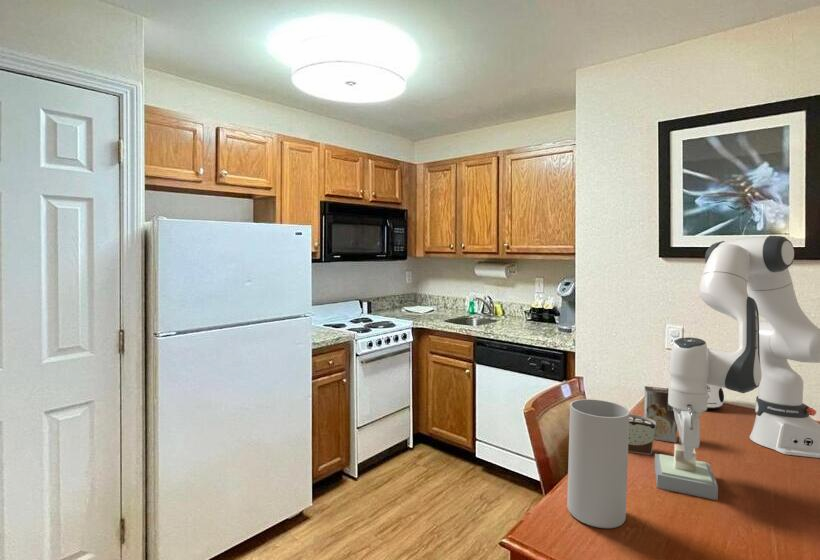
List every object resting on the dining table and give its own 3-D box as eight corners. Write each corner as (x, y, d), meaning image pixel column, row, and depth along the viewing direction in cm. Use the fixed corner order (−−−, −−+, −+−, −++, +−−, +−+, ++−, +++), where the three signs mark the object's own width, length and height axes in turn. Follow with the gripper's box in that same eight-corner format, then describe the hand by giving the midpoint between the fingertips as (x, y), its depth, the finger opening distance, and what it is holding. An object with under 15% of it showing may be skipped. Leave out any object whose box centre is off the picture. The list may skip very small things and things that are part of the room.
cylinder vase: (596, 535, 95) (600, 420, 94) (555, 505, 107) (558, 402, 105) (638, 522, 100) (642, 413, 99) (594, 495, 112) (598, 396, 110)
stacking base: (708, 475, 122) (709, 461, 122) (717, 500, 110) (718, 484, 109) (654, 465, 128) (655, 451, 128) (657, 487, 115) (657, 472, 115)
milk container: (683, 410, 175) (685, 365, 174) (666, 397, 192) (667, 355, 191) (732, 413, 172) (734, 367, 171) (710, 399, 189) (712, 357, 188)
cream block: (693, 465, 120) (693, 446, 119) (695, 472, 116) (696, 453, 115) (673, 461, 122) (674, 443, 121) (675, 468, 118) (676, 450, 117)
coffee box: (673, 435, 150) (675, 388, 149) (676, 443, 144) (678, 394, 143) (642, 431, 153) (644, 385, 152) (644, 438, 147) (646, 390, 146)
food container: (653, 447, 140) (654, 416, 140) (656, 455, 134) (658, 423, 134) (610, 441, 144) (611, 411, 144) (612, 449, 138) (613, 417, 138)
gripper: (707, 414, 107) (705, 470, 108) (696, 391, 125) (694, 439, 126) (677, 410, 110) (675, 465, 110) (670, 388, 128) (668, 435, 129)
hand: (685, 451), depth 118 cm, fingers open, 8 cm apart
